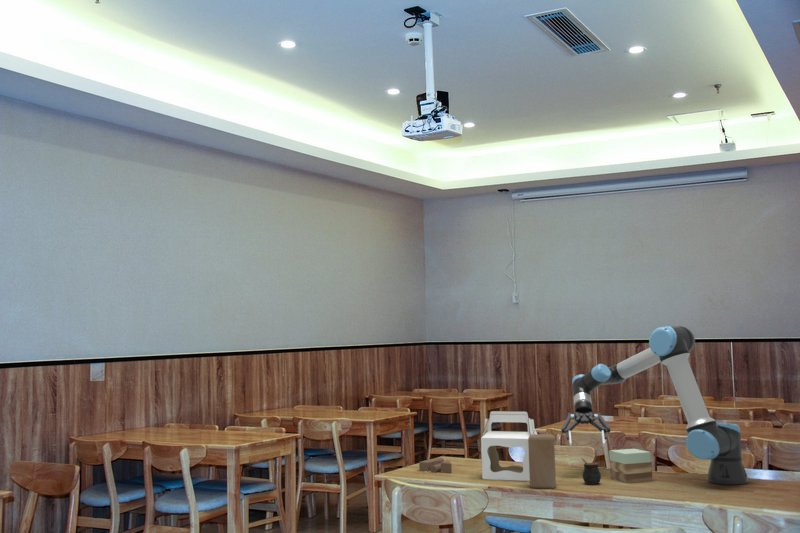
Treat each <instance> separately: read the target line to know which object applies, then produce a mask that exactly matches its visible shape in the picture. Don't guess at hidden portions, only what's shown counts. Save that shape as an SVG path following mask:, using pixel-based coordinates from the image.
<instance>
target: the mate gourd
mask: <svg viewBox="0 0 800 533" xmlns="http://www.w3.org/2000/svg"><path fill="white" fill-rule="evenodd" d="M581 459H582V461H583V462H584V464H583V467H584V468H583V471H582V479H583V482H584V483H585V484H586V485H591V486H593V485H598V484H600V481H601V476H602V474H601V472H600V469H599V463H598V462H587V461H585V459H584V458H581Z"/></svg>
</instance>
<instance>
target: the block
mask: <svg viewBox="0 0 800 533" xmlns="http://www.w3.org/2000/svg"><path fill="white" fill-rule="evenodd" d="M528 448H529V474H530V481H529V486H530V488H532V489H554V488H556V486H557V478H556V456H555V455H556V454H555V453H556V452H555V436H554V434H551V433H549V434H547V433H546V434H544V433H542V434H541V433H540V434H539V433H537V434H531V435H530V436H529V438H528Z"/></svg>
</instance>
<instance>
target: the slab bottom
mask: <svg viewBox="0 0 800 533" xmlns="http://www.w3.org/2000/svg"><path fill="white" fill-rule="evenodd" d="M609 471H610V479H611V480H615V481H617V482H621V483H625V484H635V483H643V482H644V483H645V482H653V480H654V479H653V471H652V472H646V473H635V474H624V473H620V472H616V471H612V470H610V469H609Z"/></svg>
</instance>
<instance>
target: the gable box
mask: <svg viewBox="0 0 800 533" xmlns="http://www.w3.org/2000/svg"><path fill="white" fill-rule="evenodd" d="M493 423H525V424H526V425H527V426H526V427H527V431H521V430H520V431H519V430H517V431H516V430H515V431H513V430H508V431H507V430H493V429H492V424H493ZM535 427H536V426H535V419H534V418H530V417H529V414H528V411H520V410H519V411H507V410H506V411H505V410H502V411H501V410H499V411H498V410H496V411H495V410H493V411H490V413H489V418H484V429H483V431H482V434H481V437H480V446H481V447H480V448H481V453H480V454H481V475H482V480H492V481H493V480H495V481H497V480H498V481H517V482H520V481H521V482H530V474H529V448H528V438H529V436H530V435H531V434H538V432H537V430H536V428H535ZM498 446H499V447H504V448H522V449H524V450H525V451H524V452H525V453H524V456H523V459H522V466H520V465H508V466H501V465H500V456H499V452H498V450H497V447H498Z"/></svg>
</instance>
